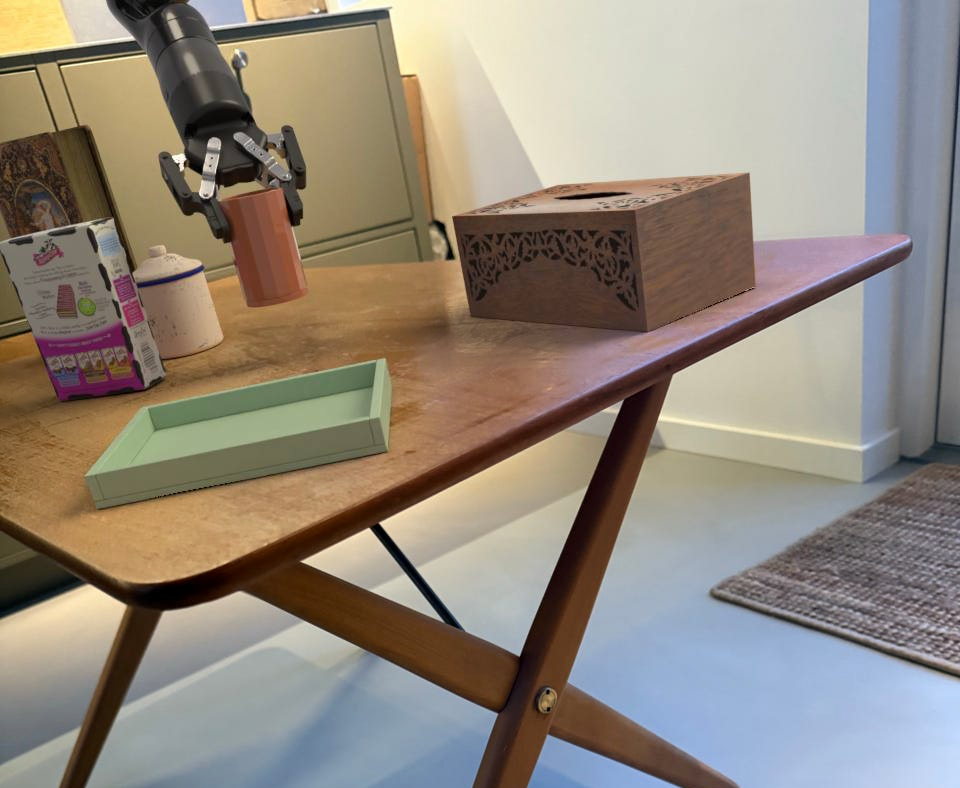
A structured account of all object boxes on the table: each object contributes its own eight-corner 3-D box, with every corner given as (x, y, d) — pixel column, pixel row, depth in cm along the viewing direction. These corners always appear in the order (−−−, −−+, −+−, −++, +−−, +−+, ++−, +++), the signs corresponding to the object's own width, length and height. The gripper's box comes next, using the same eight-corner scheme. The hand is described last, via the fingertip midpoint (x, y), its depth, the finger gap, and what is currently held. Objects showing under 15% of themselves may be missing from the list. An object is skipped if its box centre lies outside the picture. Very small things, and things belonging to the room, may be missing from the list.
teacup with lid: (226, 333, 127) (196, 233, 121) (226, 347, 119) (194, 241, 113) (128, 356, 125) (94, 256, 120) (123, 371, 117) (85, 266, 112)
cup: (242, 311, 102) (212, 203, 97) (251, 299, 107) (223, 197, 103) (305, 298, 101) (278, 190, 97) (311, 287, 107) (285, 184, 102)
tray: (96, 509, 75) (83, 476, 73) (150, 436, 90) (140, 407, 89) (387, 451, 74) (379, 416, 72) (392, 387, 89) (385, 357, 88)
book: (50, 357, 134) (-30, 150, 122) (84, 345, 138) (10, 142, 126) (128, 356, 125) (50, 131, 113) (162, 342, 129) (90, 123, 117)
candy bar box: (170, 376, 110) (116, 214, 102) (147, 391, 106) (88, 223, 98) (82, 388, 114) (23, 232, 106) (56, 402, 109) (-7, 241, 101)
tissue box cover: (470, 316, 109) (451, 216, 104) (570, 280, 115) (557, 184, 110) (647, 331, 89) (635, 210, 85) (755, 287, 96) (749, 172, 91)
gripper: (274, 116, 109) (331, 238, 105) (140, 144, 106) (194, 272, 101) (271, 55, 102) (332, 183, 98) (127, 83, 99) (185, 217, 94)
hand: (262, 228), depth 100 cm, fingers closed on cup, 6 cm apart
